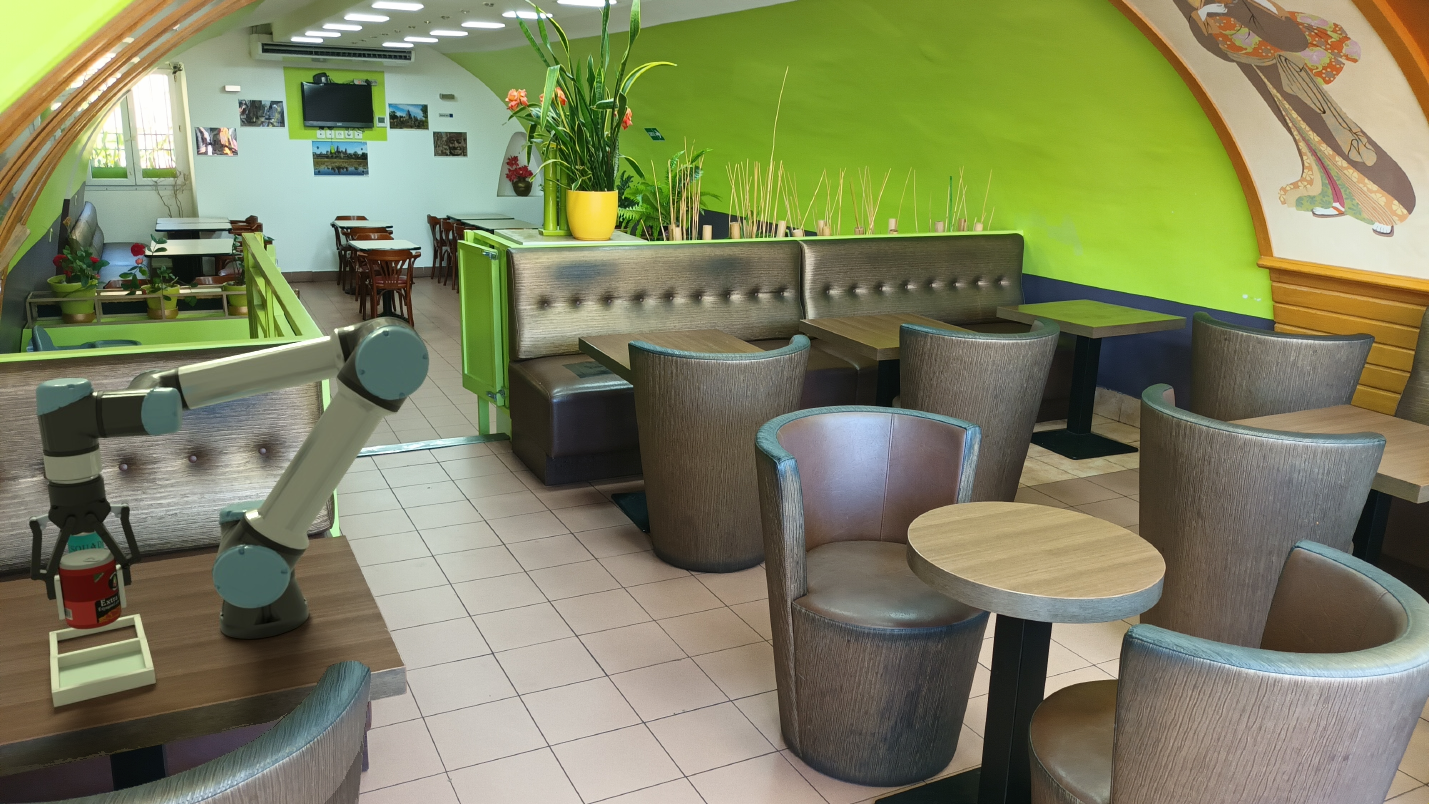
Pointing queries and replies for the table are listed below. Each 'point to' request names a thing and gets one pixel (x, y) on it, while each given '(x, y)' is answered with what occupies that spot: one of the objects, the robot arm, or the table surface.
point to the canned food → (89, 588)
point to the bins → (100, 664)
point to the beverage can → (85, 542)
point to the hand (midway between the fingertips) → (93, 610)
